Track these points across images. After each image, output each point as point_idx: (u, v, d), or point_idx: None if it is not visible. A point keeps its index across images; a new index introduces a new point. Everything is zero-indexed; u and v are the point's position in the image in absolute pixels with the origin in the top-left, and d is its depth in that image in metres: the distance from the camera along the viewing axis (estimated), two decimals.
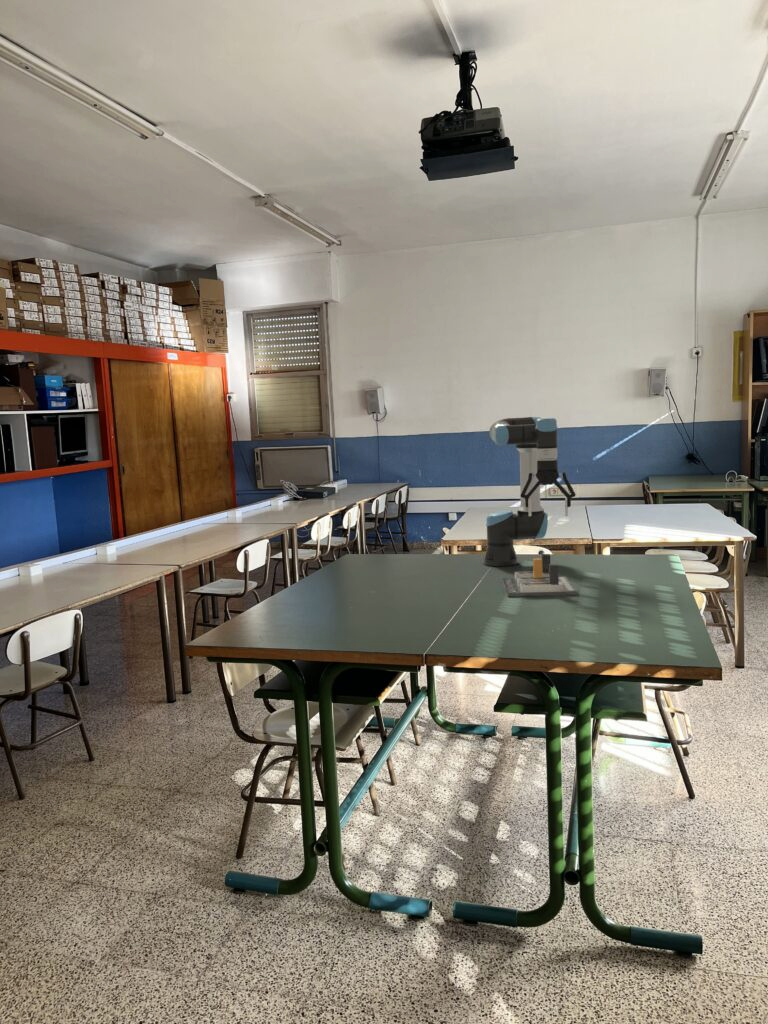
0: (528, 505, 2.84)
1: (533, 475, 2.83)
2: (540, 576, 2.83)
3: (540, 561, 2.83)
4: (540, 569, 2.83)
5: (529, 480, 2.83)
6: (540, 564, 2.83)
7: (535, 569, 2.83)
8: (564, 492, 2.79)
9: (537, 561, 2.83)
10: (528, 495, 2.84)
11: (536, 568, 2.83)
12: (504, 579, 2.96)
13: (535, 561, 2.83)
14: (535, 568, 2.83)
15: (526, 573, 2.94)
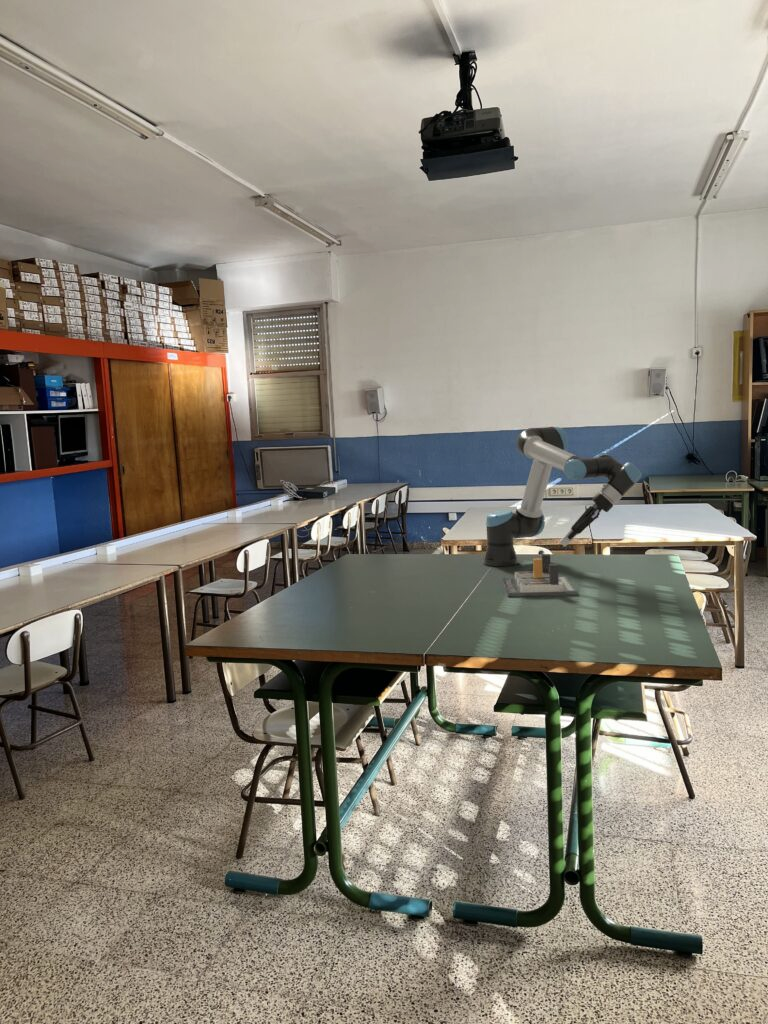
0: None
1: None
2: (540, 576, 2.83)
3: (540, 561, 2.83)
4: (540, 569, 2.83)
5: (584, 513, 2.85)
6: (540, 564, 2.83)
7: (535, 569, 2.83)
8: (577, 524, 2.80)
9: (537, 561, 2.83)
10: (574, 525, 2.82)
11: (536, 568, 2.83)
12: (504, 579, 2.96)
13: (535, 561, 2.83)
14: (535, 568, 2.83)
15: (526, 573, 2.94)
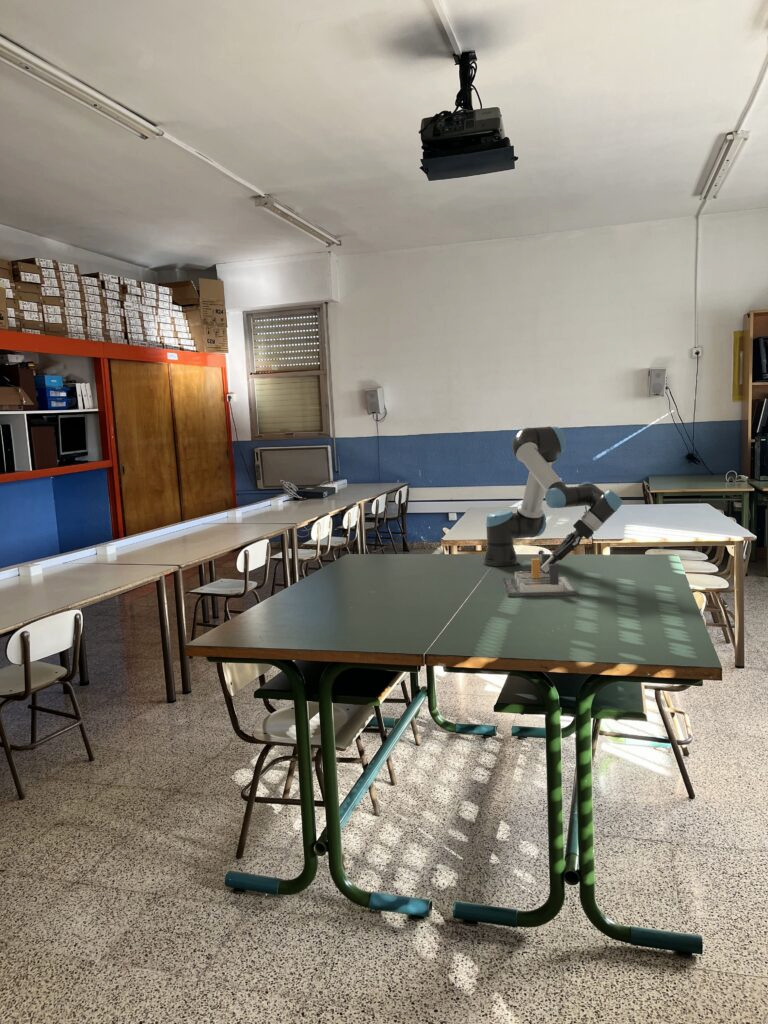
0: None
1: None
2: (538, 576, 2.83)
3: (538, 561, 2.83)
4: (538, 569, 2.83)
5: (565, 539, 2.87)
6: (538, 564, 2.83)
7: (533, 569, 2.83)
8: (558, 550, 2.81)
9: (535, 561, 2.83)
10: (555, 552, 2.84)
11: (534, 568, 2.83)
12: (504, 579, 2.96)
13: (533, 561, 2.83)
14: (533, 568, 2.83)
15: (526, 573, 2.94)
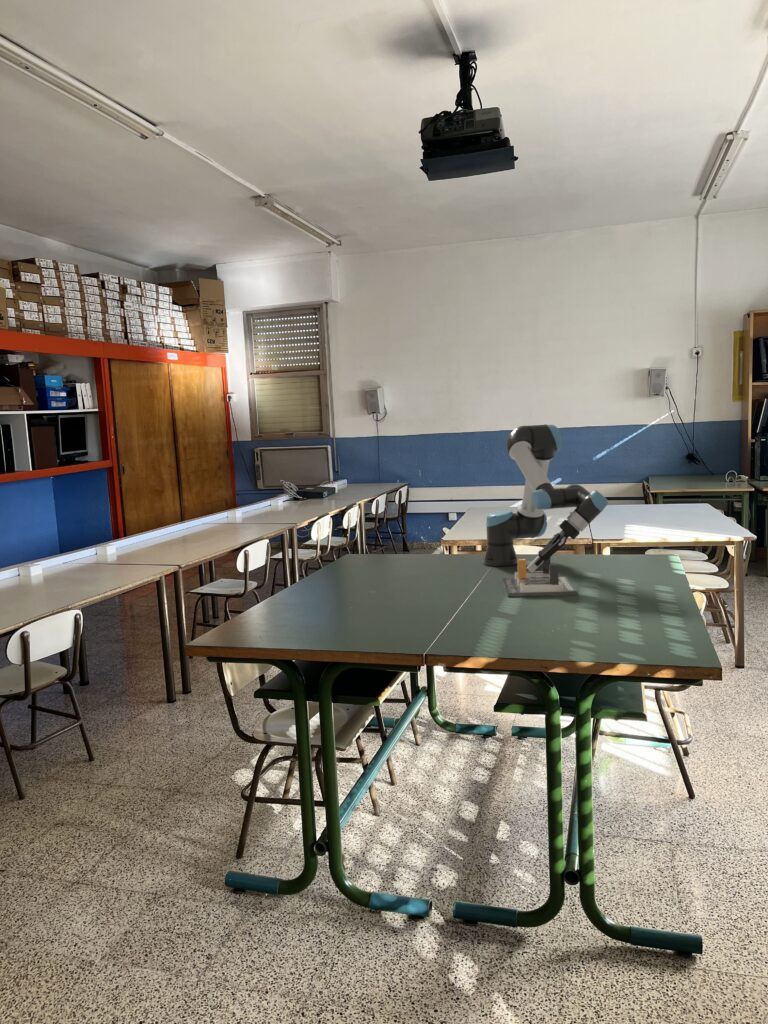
0: None
1: None
2: (524, 576, 2.84)
3: (524, 561, 2.83)
4: (524, 569, 2.83)
5: (551, 539, 2.87)
6: (524, 564, 2.83)
7: (519, 569, 2.84)
8: (544, 551, 2.82)
9: (521, 561, 2.83)
10: (541, 552, 2.85)
11: (520, 569, 2.83)
12: (504, 579, 2.96)
13: (519, 561, 2.83)
14: (519, 568, 2.84)
15: (526, 573, 2.94)
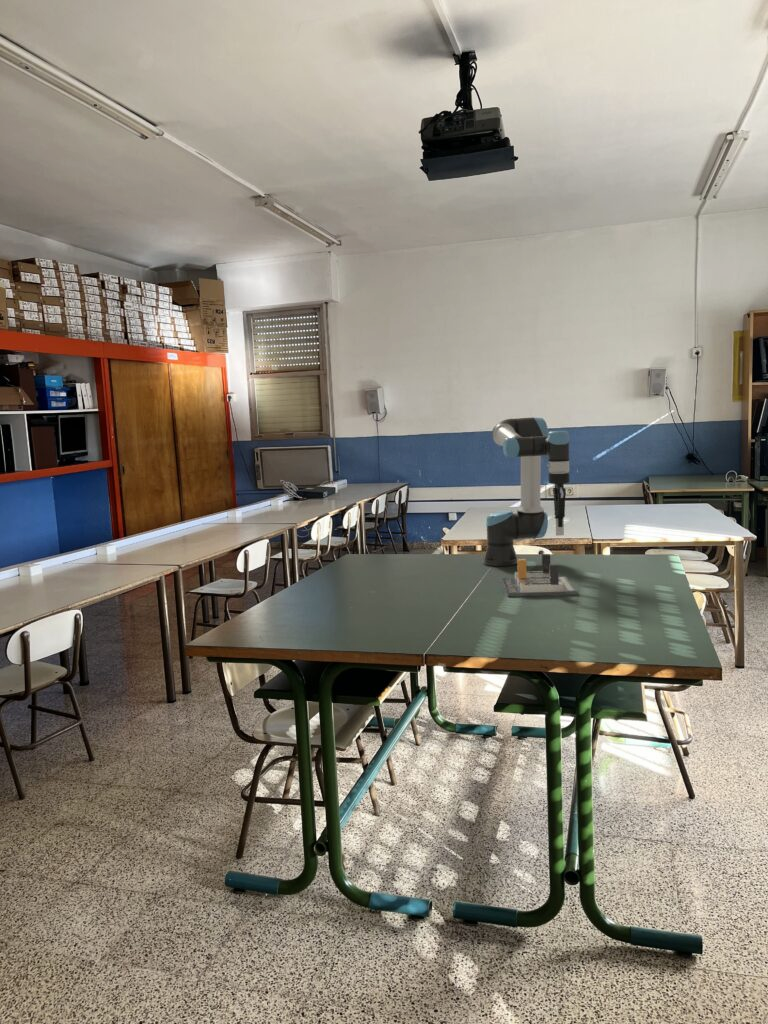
0: None
1: None
2: (524, 576, 2.84)
3: (524, 561, 2.83)
4: (524, 569, 2.83)
5: None
6: (524, 564, 2.83)
7: (519, 569, 2.84)
8: (556, 510, 2.80)
9: (521, 561, 2.83)
10: (555, 513, 2.82)
11: (520, 569, 2.83)
12: (504, 579, 2.96)
13: (519, 561, 2.83)
14: (519, 568, 2.84)
15: (526, 573, 2.94)
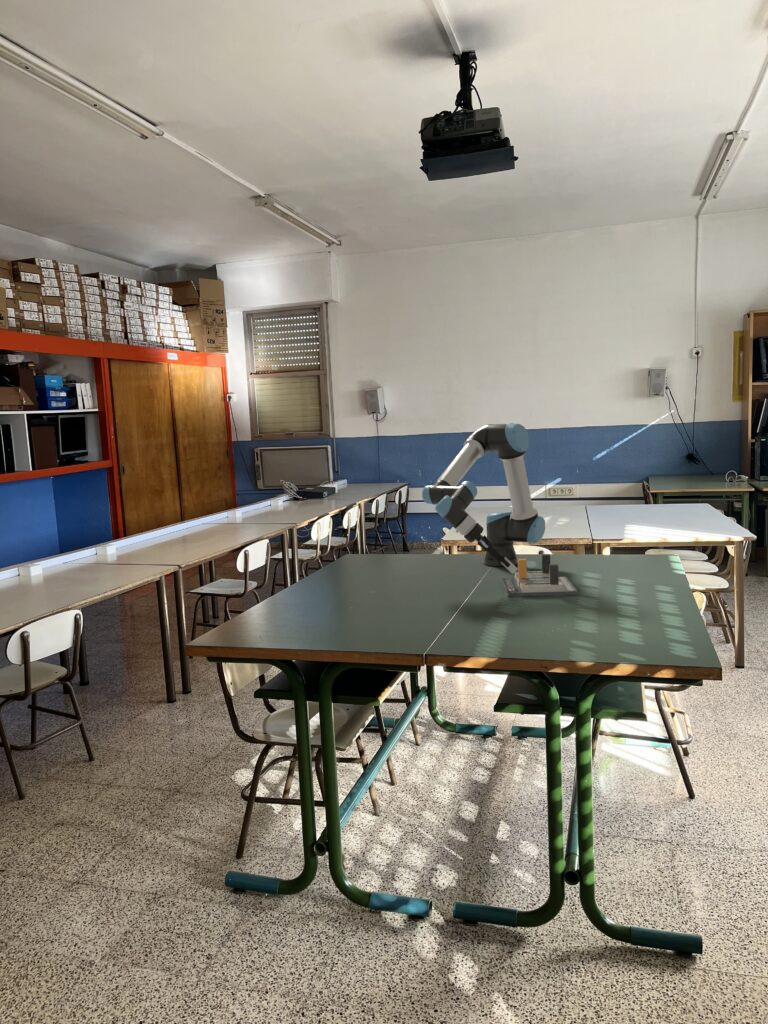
0: None
1: None
2: (524, 576, 2.84)
3: (524, 561, 2.83)
4: (524, 569, 2.83)
5: None
6: (524, 564, 2.83)
7: (519, 569, 2.84)
8: None
9: (521, 561, 2.83)
10: None
11: (521, 569, 2.83)
12: (504, 579, 2.96)
13: (519, 561, 2.83)
14: (519, 568, 2.83)
15: None
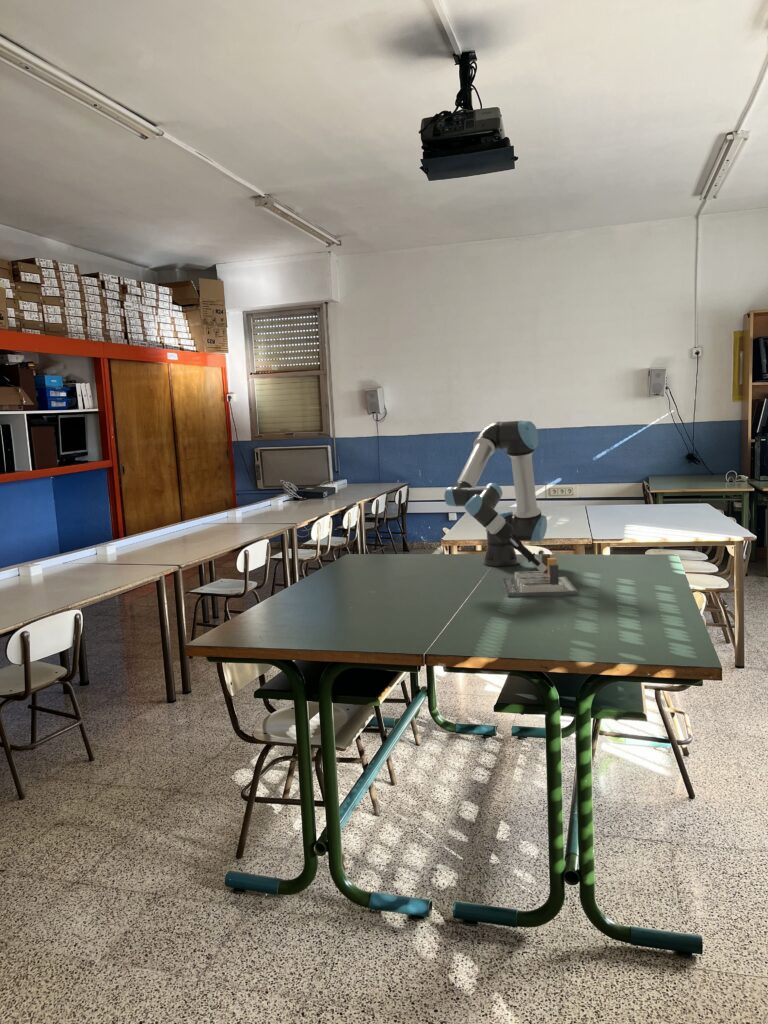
0: None
1: None
2: None
3: (554, 561, 2.82)
4: None
5: None
6: None
7: None
8: None
9: (551, 561, 2.82)
10: None
11: None
12: (504, 579, 2.96)
13: (549, 561, 2.82)
14: None
15: (526, 573, 2.94)
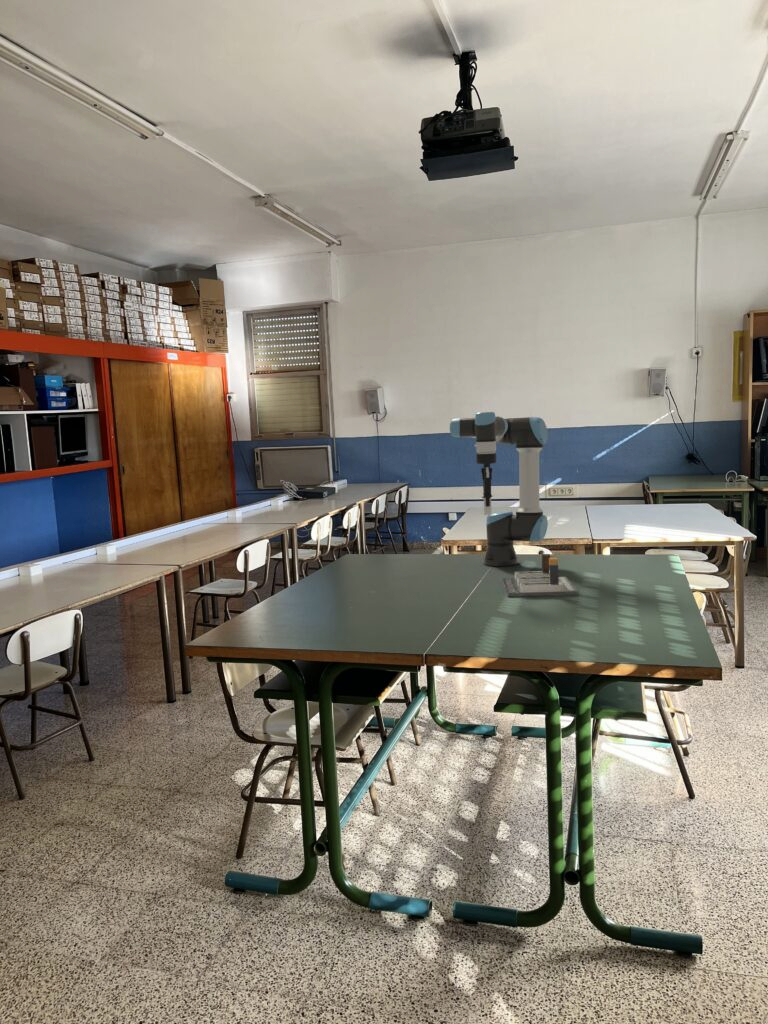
0: None
1: None
2: None
3: (556, 561, 2.82)
4: None
5: None
6: None
7: None
8: None
9: (553, 561, 2.82)
10: None
11: None
12: (504, 579, 2.96)
13: (551, 561, 2.82)
14: None
15: (526, 573, 2.94)
